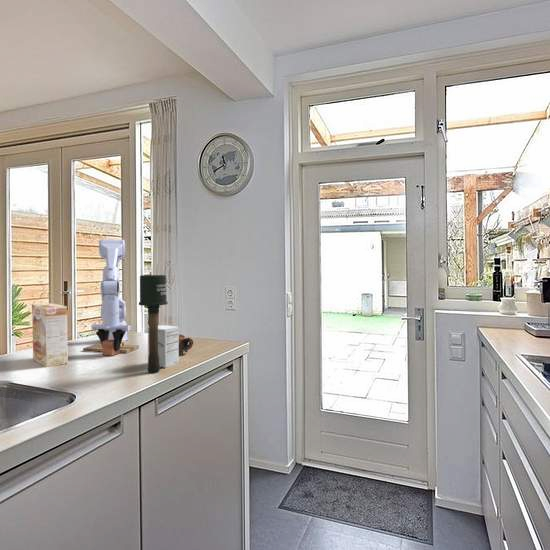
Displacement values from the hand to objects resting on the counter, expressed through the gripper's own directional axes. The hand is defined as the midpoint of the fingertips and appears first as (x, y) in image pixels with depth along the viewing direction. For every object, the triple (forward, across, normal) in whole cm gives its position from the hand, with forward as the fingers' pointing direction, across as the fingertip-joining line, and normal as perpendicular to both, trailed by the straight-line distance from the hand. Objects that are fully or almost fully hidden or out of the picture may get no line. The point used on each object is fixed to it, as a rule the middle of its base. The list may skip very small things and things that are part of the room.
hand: (111, 349), depth 152 cm
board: (+2, -5, +8) cm, 9 cm away
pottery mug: (+2, +24, +6) cm, 24 cm away
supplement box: (+2, +25, -10) cm, 28 cm away
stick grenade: (+2, +26, -20) cm, 33 cm away
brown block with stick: (+1, 0, +3) cm, 3 cm away
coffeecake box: (+2, -15, -14) cm, 20 cm away
